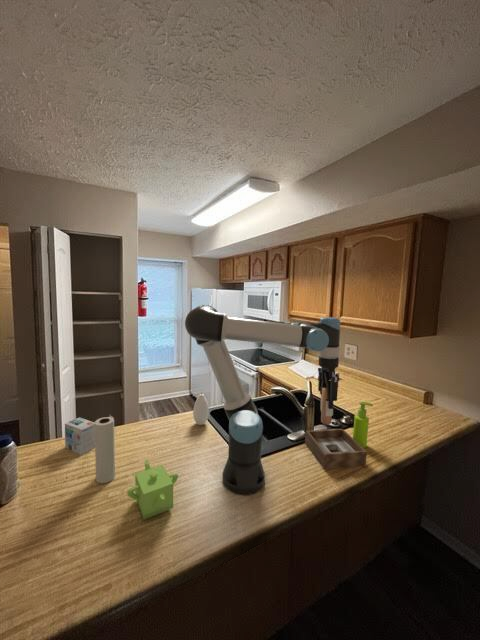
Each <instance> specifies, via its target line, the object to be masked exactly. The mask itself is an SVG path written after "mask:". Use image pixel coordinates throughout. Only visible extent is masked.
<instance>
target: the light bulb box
mask: <svg viewBox="0 0 480 640" xmlns="http://www.w3.org/2000/svg"><path fill="white" fill-rule="evenodd" d="M64 443H65V446H64V448H65V449H67V450H70V451H71V452H74V453H75V454H78V455H80V456H82V455H84V454H86V453H88V452H90V451H92V450H93V449H95V421H94V422H93V421H90V420H88V419H85V418H82V417H80V416H79V417H77V418H75V419H72V420H70V421H68V422H66V423H65V422H64Z"/></svg>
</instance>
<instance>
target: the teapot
mask: <svg viewBox="0 0 480 640" xmlns="http://www.w3.org/2000/svg"><path fill="white" fill-rule="evenodd" d="M144 466H145V467H144V470H142V471H139V472H136V473H135V475H134V476H135V477H134V478H135V483H134V484H135V485H134V486H132V487H130V488H129V489H128V490H127V496H128V497H130V498H131V499H133V500H136V502H137V505H138V508H139V511H140V514H141V517H142V520H143V521H144V520H147V519H150V518H152V517H154V516H156V515H159V514H163V513H164V512H166V511H169V510H171V509H174V484H175V483H176V482H177V480H178V478H179V474H178V473H176V472H173V473H168V471H167V470H166V467H165V466H164V465H163V464H162V465H159V466H156V467H152V468H151V465H150V462H149V460H147V459H145V460H144Z"/></svg>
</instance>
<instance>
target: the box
mask: <svg viewBox="0 0 480 640" xmlns="http://www.w3.org/2000/svg"><path fill="white" fill-rule="evenodd" d="M304 435H305V438H304V439H305V440H304V444H305V445H306V447H307V448H308V449H309V451H310V452H311V454H312V455H313V457H314V458H315V460H316V461H317V462H318V463H319V465H320V466H321V468H322V469H323V470H329V469H330V470H333V469H343V468H357V467H366V466H367V456H368V454H367V453H368V451H367V450H366V449H365V448H363V447H362V446H360V445H359V444H358V443H357V442H356V441H355V440H354V439H353V436H351V435H350V434H349V433H348V432H347V431H346V430H344V429H343V428H332V429H331V428H330V429H312V430H305V434H304ZM335 450H336V452H335ZM331 451H334V452H331Z"/></svg>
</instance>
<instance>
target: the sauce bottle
mask: <svg viewBox="0 0 480 640" xmlns="http://www.w3.org/2000/svg"><path fill="white" fill-rule="evenodd" d="M200 391H201V393H200V394H199V395H198V397H197V398H196V400H195V402H194V406H193V409H192V410H193V411H192V414H193V415H192V416H193V421H194V422H195V423H196V424H197V425H199V426H202V425H205V424H206V423H207V422H208V420H209V417H210V406H209V402H208V399H207V398H206V397H205V394H204V393H203V390H202V389H201V390H200Z"/></svg>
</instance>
